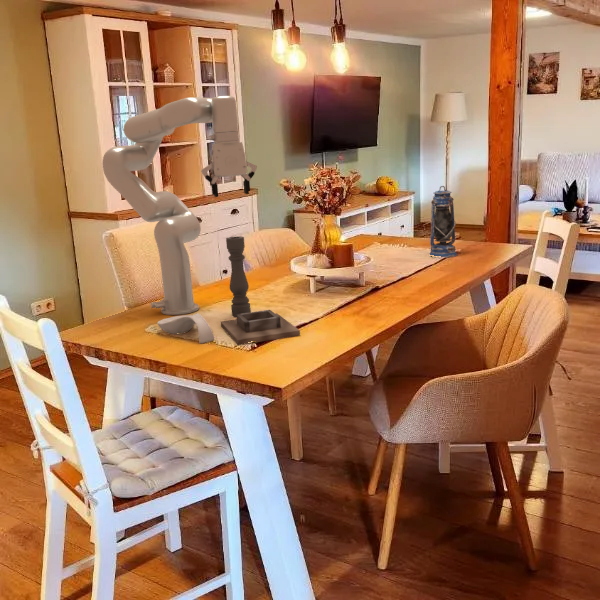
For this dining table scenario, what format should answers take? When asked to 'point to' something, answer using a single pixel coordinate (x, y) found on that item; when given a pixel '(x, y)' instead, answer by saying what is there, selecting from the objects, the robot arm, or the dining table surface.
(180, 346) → the dining table surface
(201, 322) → the spoon rest
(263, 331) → the socket board
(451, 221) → the lantern
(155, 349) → the dining table surface
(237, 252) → the candle holder
